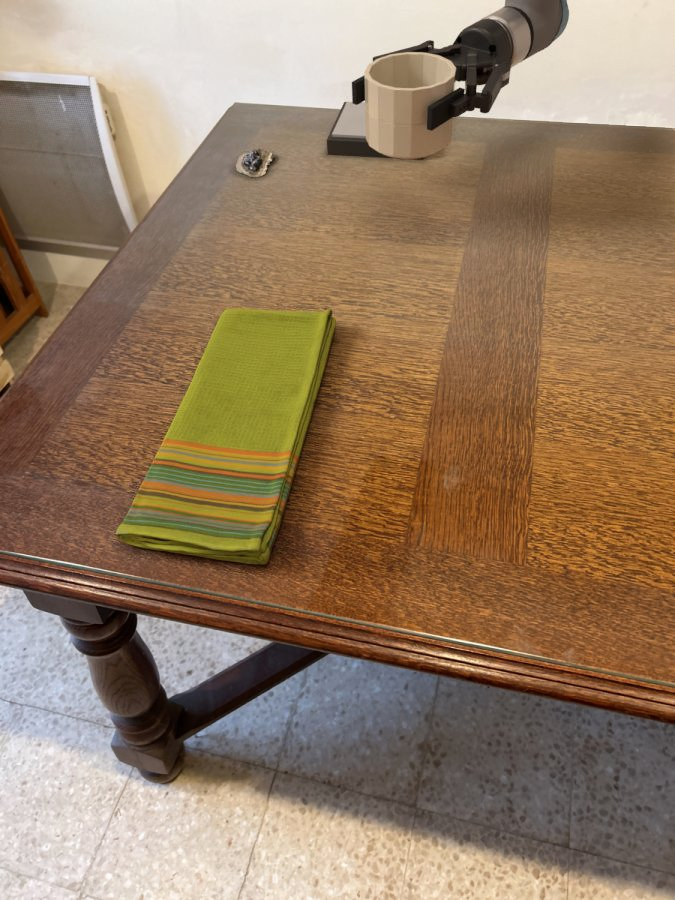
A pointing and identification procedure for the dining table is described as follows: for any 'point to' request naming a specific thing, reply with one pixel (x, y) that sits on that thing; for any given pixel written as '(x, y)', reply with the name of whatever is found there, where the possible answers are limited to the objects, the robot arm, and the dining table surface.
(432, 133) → the beige faceted pot
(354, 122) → the scale
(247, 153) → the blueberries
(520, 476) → the dining table surface
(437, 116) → the robot arm
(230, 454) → the dish towel
